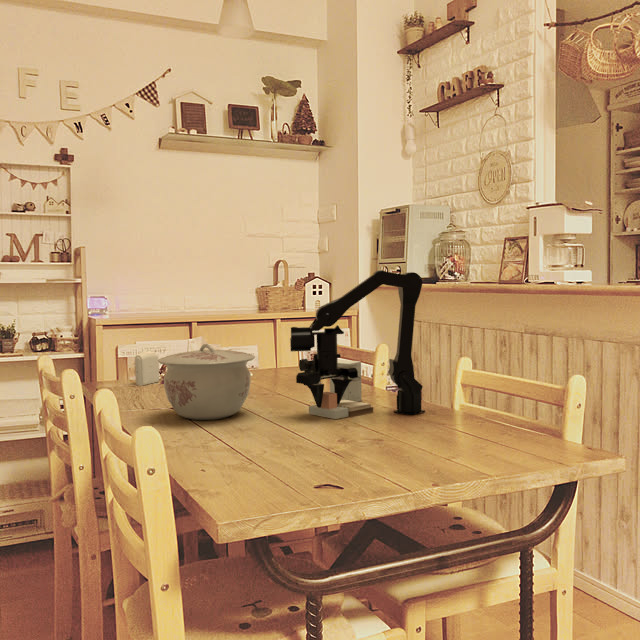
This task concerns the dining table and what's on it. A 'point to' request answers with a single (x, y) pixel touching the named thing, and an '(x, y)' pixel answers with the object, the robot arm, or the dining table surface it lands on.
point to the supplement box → (354, 386)
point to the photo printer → (146, 368)
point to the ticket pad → (355, 407)
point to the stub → (329, 407)
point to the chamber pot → (207, 382)
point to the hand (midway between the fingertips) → (328, 405)
